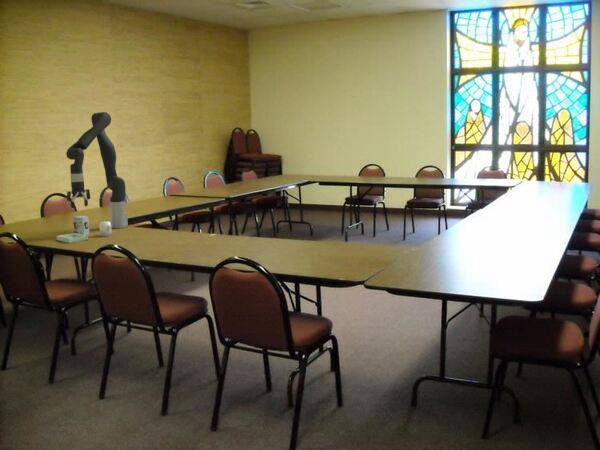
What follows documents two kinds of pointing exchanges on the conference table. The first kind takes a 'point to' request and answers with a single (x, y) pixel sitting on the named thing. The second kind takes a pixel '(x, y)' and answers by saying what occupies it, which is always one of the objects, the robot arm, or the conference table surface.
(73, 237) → the tray
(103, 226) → the mug
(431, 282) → the conference table surface
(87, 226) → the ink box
